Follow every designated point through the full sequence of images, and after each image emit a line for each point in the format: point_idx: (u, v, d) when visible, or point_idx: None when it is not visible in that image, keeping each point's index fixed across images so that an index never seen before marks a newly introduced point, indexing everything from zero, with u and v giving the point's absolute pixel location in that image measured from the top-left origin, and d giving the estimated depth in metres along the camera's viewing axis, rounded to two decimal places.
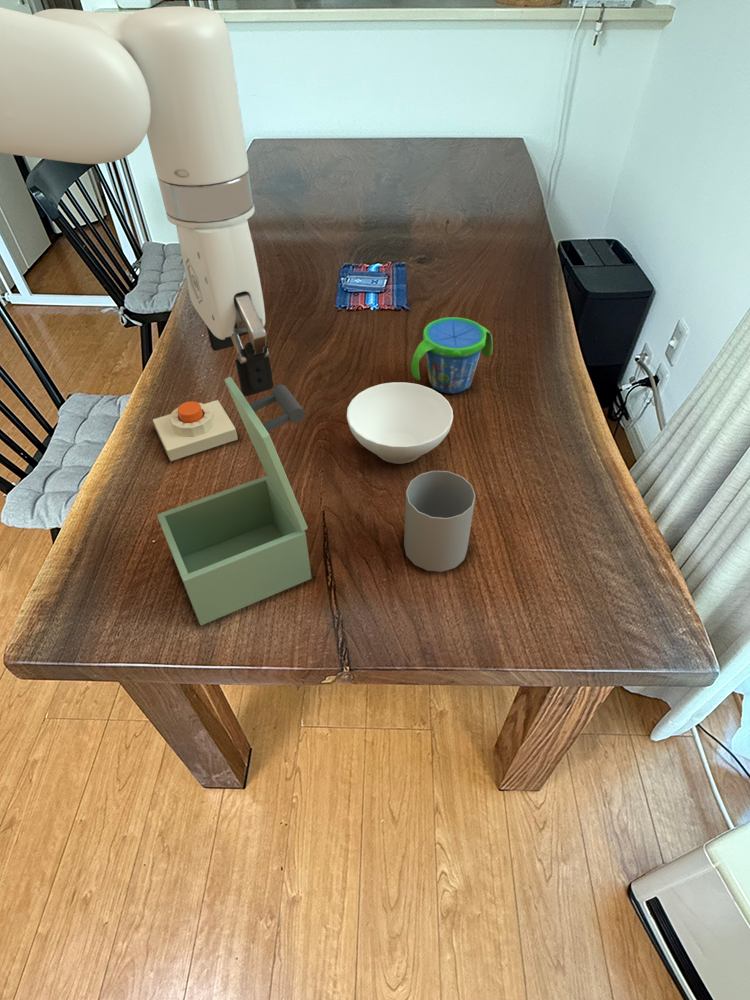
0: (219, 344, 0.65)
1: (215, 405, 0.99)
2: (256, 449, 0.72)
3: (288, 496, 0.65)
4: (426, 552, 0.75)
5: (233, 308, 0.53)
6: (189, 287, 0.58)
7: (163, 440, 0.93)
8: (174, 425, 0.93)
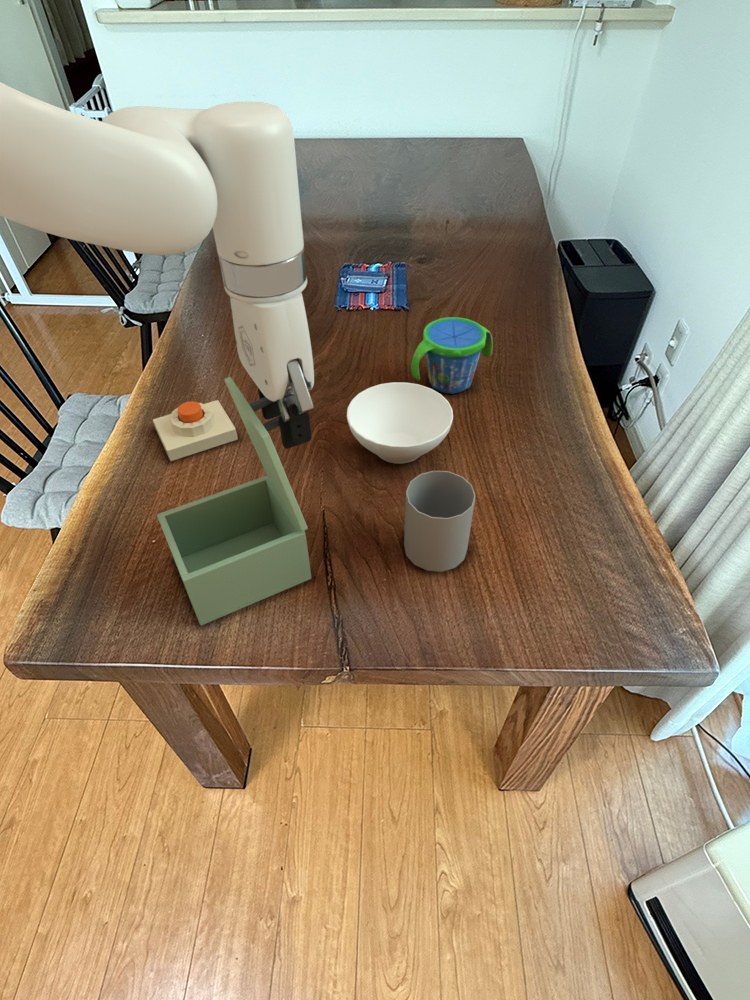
0: (271, 413, 0.67)
1: (215, 405, 0.99)
2: (256, 449, 0.72)
3: (288, 496, 0.65)
4: (426, 552, 0.75)
5: (286, 374, 0.56)
6: (239, 348, 0.61)
7: (163, 440, 0.93)
8: (174, 425, 0.93)
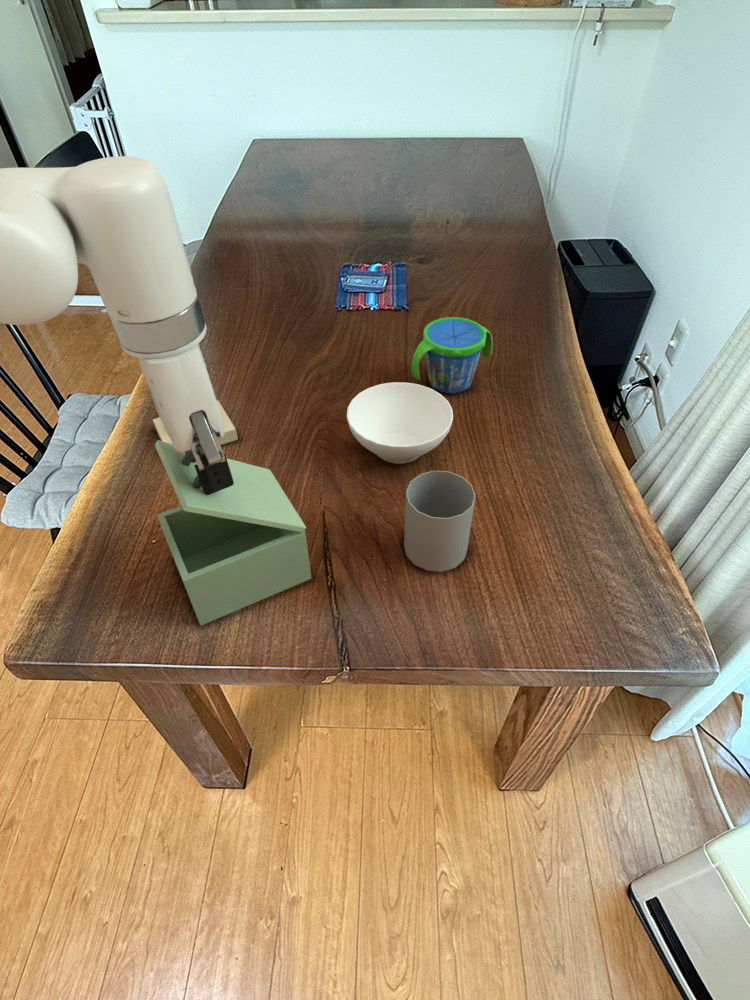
0: None
1: None
2: None
3: (259, 523, 0.65)
4: (426, 552, 0.75)
5: (190, 426, 0.54)
6: None
7: (163, 440, 0.93)
8: None
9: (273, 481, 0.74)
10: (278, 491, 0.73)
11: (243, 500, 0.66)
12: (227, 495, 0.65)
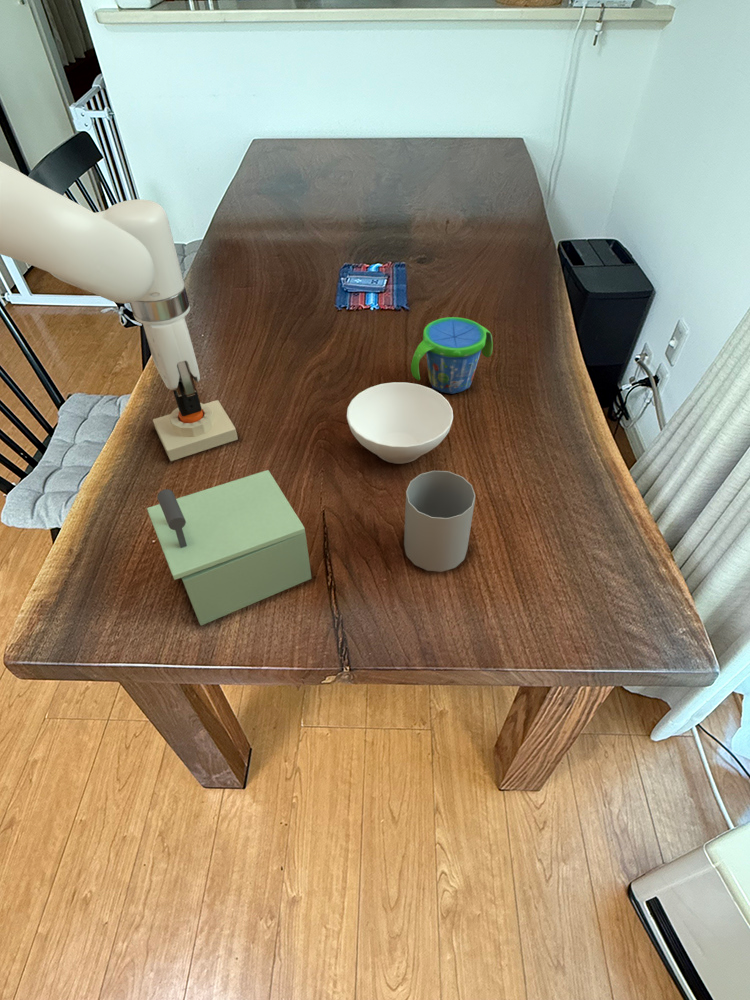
0: None
1: (215, 405, 0.99)
2: None
3: (253, 550, 0.68)
4: (426, 552, 0.75)
5: (177, 371, 0.83)
6: (151, 353, 0.88)
7: (163, 440, 0.93)
8: (174, 425, 0.93)
9: (270, 484, 0.75)
10: (275, 494, 0.73)
11: (233, 532, 0.69)
12: (216, 536, 0.68)
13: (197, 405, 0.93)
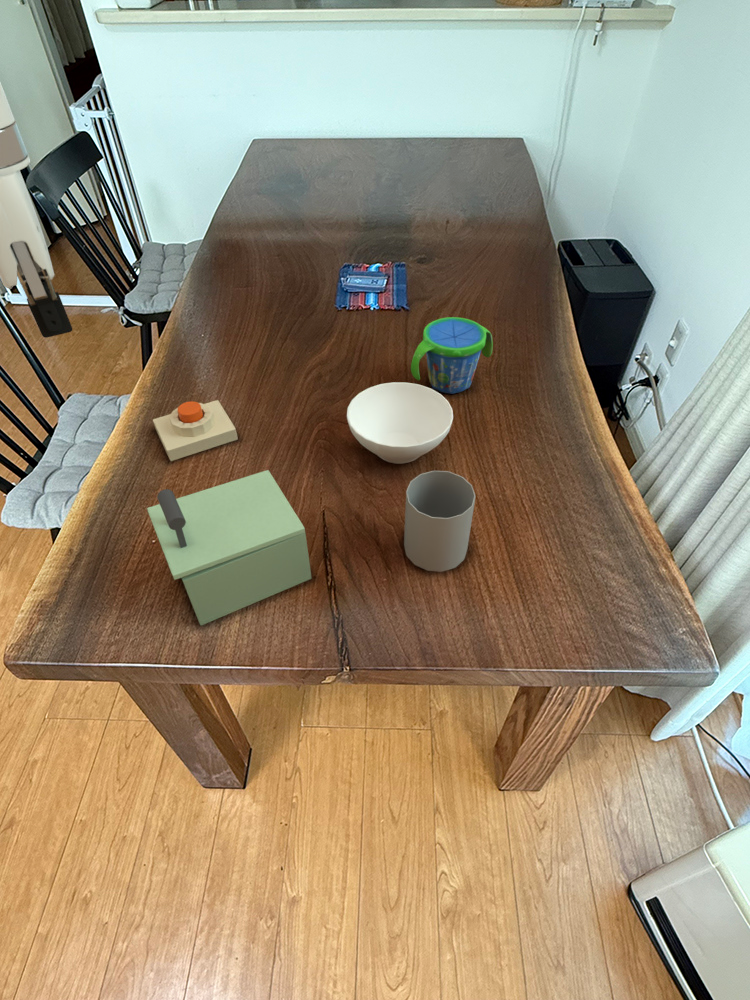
0: None
1: (215, 405, 0.99)
2: None
3: (253, 550, 0.68)
4: (426, 552, 0.75)
5: (12, 257, 0.56)
6: None
7: (163, 440, 0.93)
8: (174, 425, 0.93)
9: (270, 484, 0.75)
10: (275, 494, 0.73)
11: (233, 532, 0.69)
12: (216, 536, 0.68)
13: (64, 322, 0.66)
